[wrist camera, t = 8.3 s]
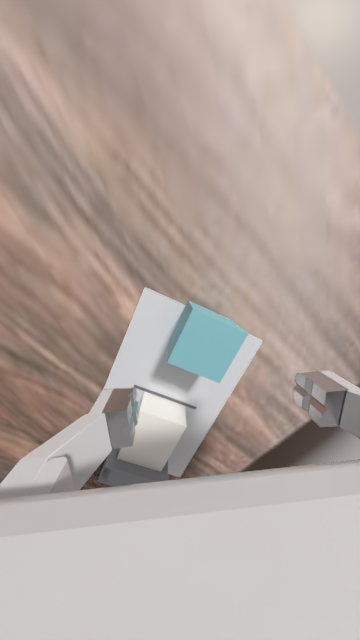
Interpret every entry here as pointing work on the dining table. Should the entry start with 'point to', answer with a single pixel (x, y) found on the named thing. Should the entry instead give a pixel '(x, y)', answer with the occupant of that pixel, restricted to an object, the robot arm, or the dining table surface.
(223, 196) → the dining table surface
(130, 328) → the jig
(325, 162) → the dining table surface
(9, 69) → the dining table surface
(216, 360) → the stub
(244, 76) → the dining table surface
